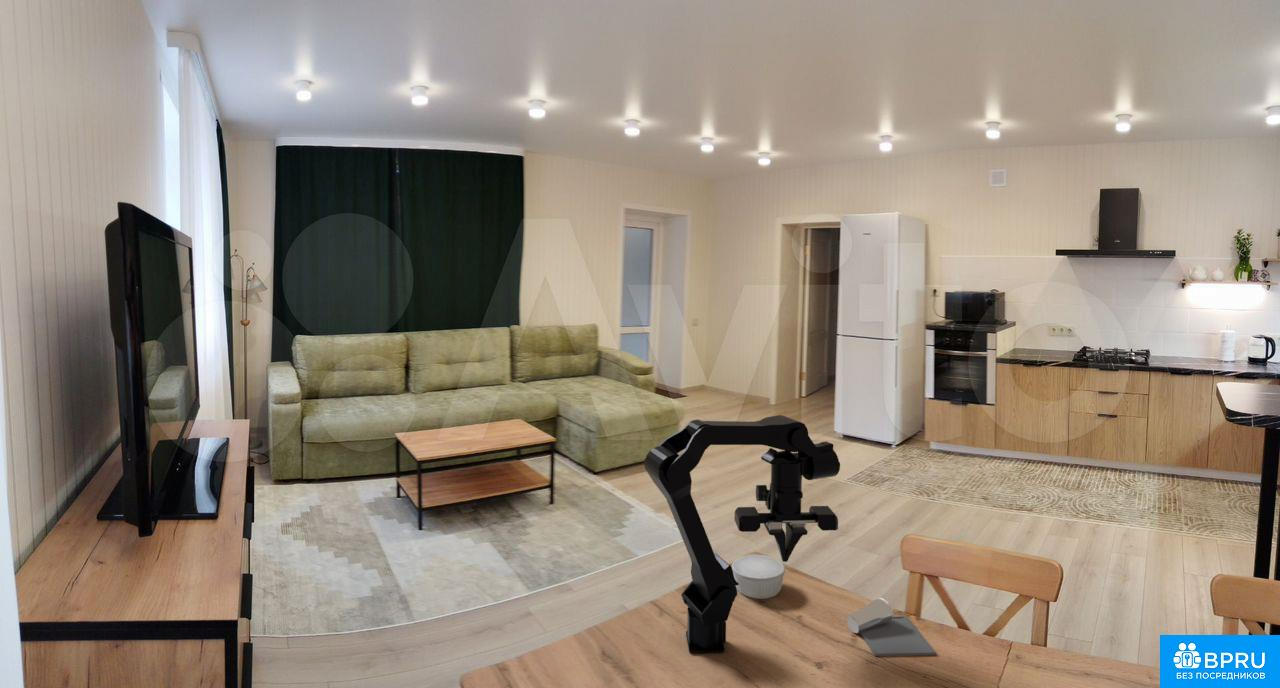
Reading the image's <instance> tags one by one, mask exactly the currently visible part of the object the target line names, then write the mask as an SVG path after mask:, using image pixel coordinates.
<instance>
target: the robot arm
mask: <svg viewBox="0 0 1280 688" xmlns="http://www.w3.org/2000/svg"><path fill="white" fill-rule="evenodd" d="M710 446H765V447H770V448H769V449H768V450H767V451H766V452H765V453H764V454H763V455H761V456H760V458H761V461H764V462H765V463H768V464H770V465H771V466H770V475H771V476H770V483H769V489H768V486H767V485H766V484H756V485H755V486H756V487H755V499H756V502H764V503H765V504H764V505H765V506H766V509H767V510H768V511H769V512H758V509H757V508H756V507H755V506H738V507H736V509H735V510H734V523H735V524H736V527H737V529H738V531H740V532H742V533H744V532H745V533H746V532H747V533H749V532H751V533H753V532H757V531H758V530H759V529H760V528H761V524H763V525H764V527H765V530H766V531H767V533H768V534H769V536H774V539H775V542H776V545H777V548H778V552H779V555H780V558H781V561H782V562H784V563H787V562H788V561H789V559H790V557H791V555H792V553H793V551H794V549H795V547H796V546H797V544H798V543H799V542H800V539H801V538H802V537H803V536H806V535H808V530H807V529H806V525H807V524H809V523H810V524H811V523H812V524H815V523H817V527H818V528H819V529H820V530H821V531H838V529H839V519H838V518H839V517H838V516H837V515H836V513H835V512H834V511H833V510H832V509H831V508H830V506H828V505H811V506H810V507H809V509H808V511H809V512H805V511H804V512H803V511H802V499H803V497H804V495H803V494H804V492H803V491H802V486H803V485H802V483H803V481H802V480H803V478H804V479H805V480H807V481H814V480H820V479H825V478H833V477H836V476H837V475H838V474H839V472H840V470H841V463H840V460H839V456H838V455H837V453H836V451H835V450H834V444H833V443H831V442H829V441H828V440H827V441H820V442H818V443H814V441H813V440H812V439H811V438H810V435H809V429H808V428H807V426H806V424H805V423H803V422H802V421H799V420H796V419H793V418H791V417H788V416H786V415H782V414H779V415H773V416H767V417H764V418H762V419H760V420H756V421H739V420H738V421H735V420H733V421H732V420H731V421H730V420H725V421H724V420H714V421H713V420H701V419H693V420H690V421H689V422H688V423H686V425H685V426H683V428H682V429H680V430H678V431H676V432H675V433H673V434H671V435H669V436H668V437H666V438H665V439H664V440H663V441H662V442H661V443H660V444H659V445H657V446H656V447H655V446H654V447H653V448H651V449H650V450H649V451H648V453H647V454H646V457H645V459H644V460H643V466H644V469H645V471H646V473H647V474H648V475H649V477H650V478H651V480H652V482H653V484H654V485H655V486H656V487H657V489H658V490H659V491H660V492H661V494H662V495H663V496H664V498H665V499H666V502H667V504H668V507H669V509H670V511H671V514H672V517H673V519H674V521H675V524H676V526H677V529H678V531H679V533H680V536H681V539H682V541H683V543H684V546H685V548H686V551H687V553H688V556H689V559H690V561H691V567H690V574H691V579H692V580H691V582H690V583H689V584H688V585H687V586H686V588H685V589H684V590H683V592H682V593H681V598H682V601H683V603H684V605H686V606H687V619H686V621H687V625H686V626H687V630H686V632H685V636H686V641H687V642H686V644H687V648H688V649H687V650H688V653H690V654H701V653H702V654H703V653H704V654H705V653H706V654H707V653H711V654H713V653H725V646H724V645H725V644H726V642H727V622H726V621H728V619H729V616H730V613H731V611H732V606H733V605H734V604H733V603H734V601H735V600H736V597H738V589H737V588H736V585H739V583H738V582H737V581H736V580H735V578H734V573H733V570H732V565H730V564H729V563H728V562H727V561H726V560H724V559H723V558H722V557H721V556H720V555H718V553H716V552H714V550H713V547H712V544H711V542H710V539H709V537H708V534H707V532H706V530H705V527H704V525H703V522H702V519H701V517H700V514H699V511H698V509H697V507H696V504H695V502H694V499H693V496H692V493H691V492H692V483H693V479H692V476H691V475H692V474H691V472H692V471H693V470H694V469H695V468H696V467H697V466H699V463H700V461H701V459H702V457H703V455H704V453H705V451H706V450H707V449H708V448H709V447H710ZM773 448H774V449H773ZM775 449H778V451H777V450H775ZM678 453H680V454H678ZM783 524H785V530H784V529H783Z"/></svg>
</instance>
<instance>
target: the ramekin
mask: <svg viewBox="0 0 1280 688" xmlns="http://www.w3.org/2000/svg"><path fill="white" fill-rule="evenodd" d="M731 568H732V570H733V575H734V578H735V580H736V581H737V582H738V583H739V585H735V586H736V588H737V591H739V593H740V594H742V595H743V596H746V597H748V598H751V599H755V600H756V599H758V600H765V599H767V600H768V599H770V598H773V597H776V595H778V594H779V593H780V591H781V589H782V585H783V580H784V576H785V573H786V567H785V565H784V564H783V563H782V562H781V561H780V560H778V559H776V558H774V557H771V556H768V555H762V554H750V555H749V554H747V555H743V556H740V557H738V558H736V559H735V560H734V561H733V562H732V564H731Z"/></svg>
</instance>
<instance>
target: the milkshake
mask: <svg viewBox="0 0 1280 688" xmlns="http://www.w3.org/2000/svg"><path fill="white" fill-rule="evenodd" d="M903 617H904V616H901V615H900V616H894V609H893V607H892V605H891V603H890V601H888V600H886V599H885V598H883V597H878V598H876V599H874V600H873V601H872V602H870V603H869V604H867V605H865V606H863V607H861V608H859V609H858V610H856V611H855V612H853V613H851V614H849V615H848V616H847V618H846V624H847V627H848V628H849V630H850V631H851V632H852V633H854V634H860V632H862V631H865V630H868V629H871V628H873V627H876V626H879V625H882V624H885V623H888V622H891V621H892V619H898V618H903Z"/></svg>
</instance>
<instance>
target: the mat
mask: <svg viewBox="0 0 1280 688" xmlns="http://www.w3.org/2000/svg"><path fill="white" fill-rule="evenodd" d="M859 634H860V635H861V637H862V638H863V640H864V642H865V643H866V645H867V646H868V647H869V649H870V651H871V653H872V654H873V656H874V657H900V656H901V657H906V656H910V657H911V656H936V651H935V650H934V649H933V647H932V646H931V645H930V644H929V642H928V641H927V640H926V638H925V637H924V636H923V635H922V633H921V632H920V631H919V629H918V628H917V627H916V626H915V624H914V623H913V622H912V621H911V619H910V618H909V617H908V616H904V617H903V618H898V619H892V621H891V622H888V623H885V624H882V625H879V626H876V627H873V628H871V629H868V630H865V631H862V632H860V633H859Z"/></svg>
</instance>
